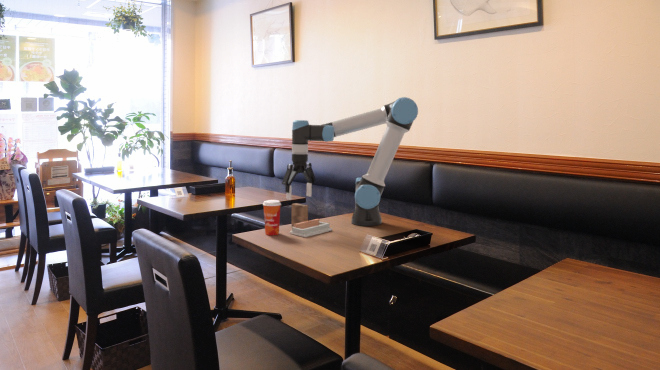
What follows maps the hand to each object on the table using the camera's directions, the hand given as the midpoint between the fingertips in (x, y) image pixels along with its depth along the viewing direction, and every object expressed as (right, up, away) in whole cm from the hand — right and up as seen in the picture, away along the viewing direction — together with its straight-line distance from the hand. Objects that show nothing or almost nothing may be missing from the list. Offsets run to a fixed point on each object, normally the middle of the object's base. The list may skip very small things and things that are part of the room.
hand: (299, 197), depth 231 cm
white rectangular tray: (+6, -15, -7) cm, 18 cm away
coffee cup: (-11, -16, -12) cm, 23 cm away
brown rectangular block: (0, -14, +2) cm, 14 cm away
